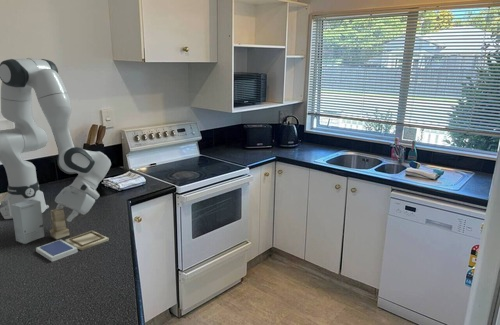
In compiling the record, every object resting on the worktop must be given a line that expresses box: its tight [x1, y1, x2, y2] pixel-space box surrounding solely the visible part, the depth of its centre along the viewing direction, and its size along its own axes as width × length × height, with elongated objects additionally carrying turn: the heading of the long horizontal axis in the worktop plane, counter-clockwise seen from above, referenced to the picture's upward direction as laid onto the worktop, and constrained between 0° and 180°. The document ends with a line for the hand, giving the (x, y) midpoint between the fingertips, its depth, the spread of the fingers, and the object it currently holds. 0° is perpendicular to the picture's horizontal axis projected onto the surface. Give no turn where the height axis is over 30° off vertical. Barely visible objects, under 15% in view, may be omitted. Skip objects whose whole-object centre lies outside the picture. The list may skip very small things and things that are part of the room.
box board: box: [64, 230, 110, 251], centre depth 142 cm, size 12×11×1 cm
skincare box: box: [11, 200, 45, 245], centre depth 142 cm, size 8×6×15 cm
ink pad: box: [35, 239, 79, 262], centre depth 133 cm, size 12×9×2 cm
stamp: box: [49, 208, 71, 241], centre depth 145 cm, size 5×5×11 cm
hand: (61, 218), depth 145 cm, fingers open, 8 cm apart
